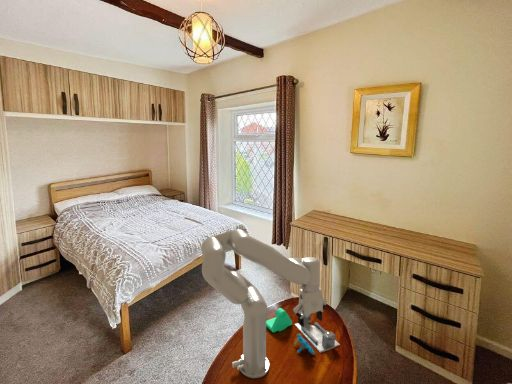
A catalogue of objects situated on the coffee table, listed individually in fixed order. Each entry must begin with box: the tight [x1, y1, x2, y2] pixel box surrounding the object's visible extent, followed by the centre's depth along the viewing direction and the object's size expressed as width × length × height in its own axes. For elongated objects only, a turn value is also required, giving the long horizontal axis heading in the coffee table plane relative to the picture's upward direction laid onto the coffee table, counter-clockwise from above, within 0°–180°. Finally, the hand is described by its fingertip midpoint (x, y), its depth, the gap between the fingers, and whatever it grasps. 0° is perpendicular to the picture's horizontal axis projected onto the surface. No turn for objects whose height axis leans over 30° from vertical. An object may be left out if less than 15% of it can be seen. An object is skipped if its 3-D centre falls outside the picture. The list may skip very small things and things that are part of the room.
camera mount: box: [266, 307, 293, 333], centre depth 135 cm, size 12×8×10 cm, turn 123°
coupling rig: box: [294, 312, 340, 354], centre depth 128 cm, size 11×21×7 cm, turn 24°
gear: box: [294, 333, 315, 355], centre depth 117 cm, size 11×6×10 cm
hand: (310, 322), depth 117 cm, fingers open, 9 cm apart
